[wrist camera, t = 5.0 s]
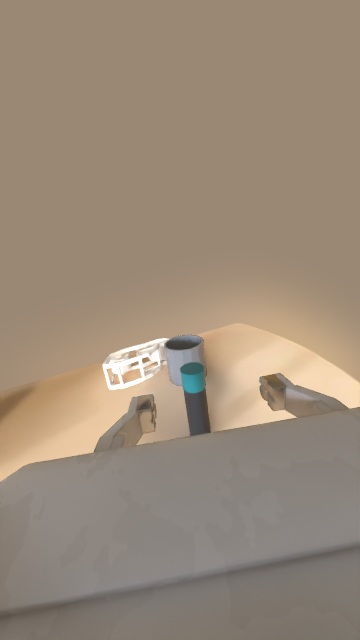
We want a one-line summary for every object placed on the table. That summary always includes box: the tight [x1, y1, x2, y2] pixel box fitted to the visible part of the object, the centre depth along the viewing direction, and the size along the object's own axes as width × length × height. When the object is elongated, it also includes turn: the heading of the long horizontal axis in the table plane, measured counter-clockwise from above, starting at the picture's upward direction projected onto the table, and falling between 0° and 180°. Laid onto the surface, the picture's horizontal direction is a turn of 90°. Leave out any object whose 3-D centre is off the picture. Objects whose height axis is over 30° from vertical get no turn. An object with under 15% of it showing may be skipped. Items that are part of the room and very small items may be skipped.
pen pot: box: [164, 335, 207, 386], centre depth 45 cm, size 10×10×10 cm
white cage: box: [102, 338, 170, 390], centre depth 51 cm, size 20×11×7 cm, turn 116°
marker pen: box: [180, 362, 210, 436], centre depth 28 cm, size 4×4×12 cm
